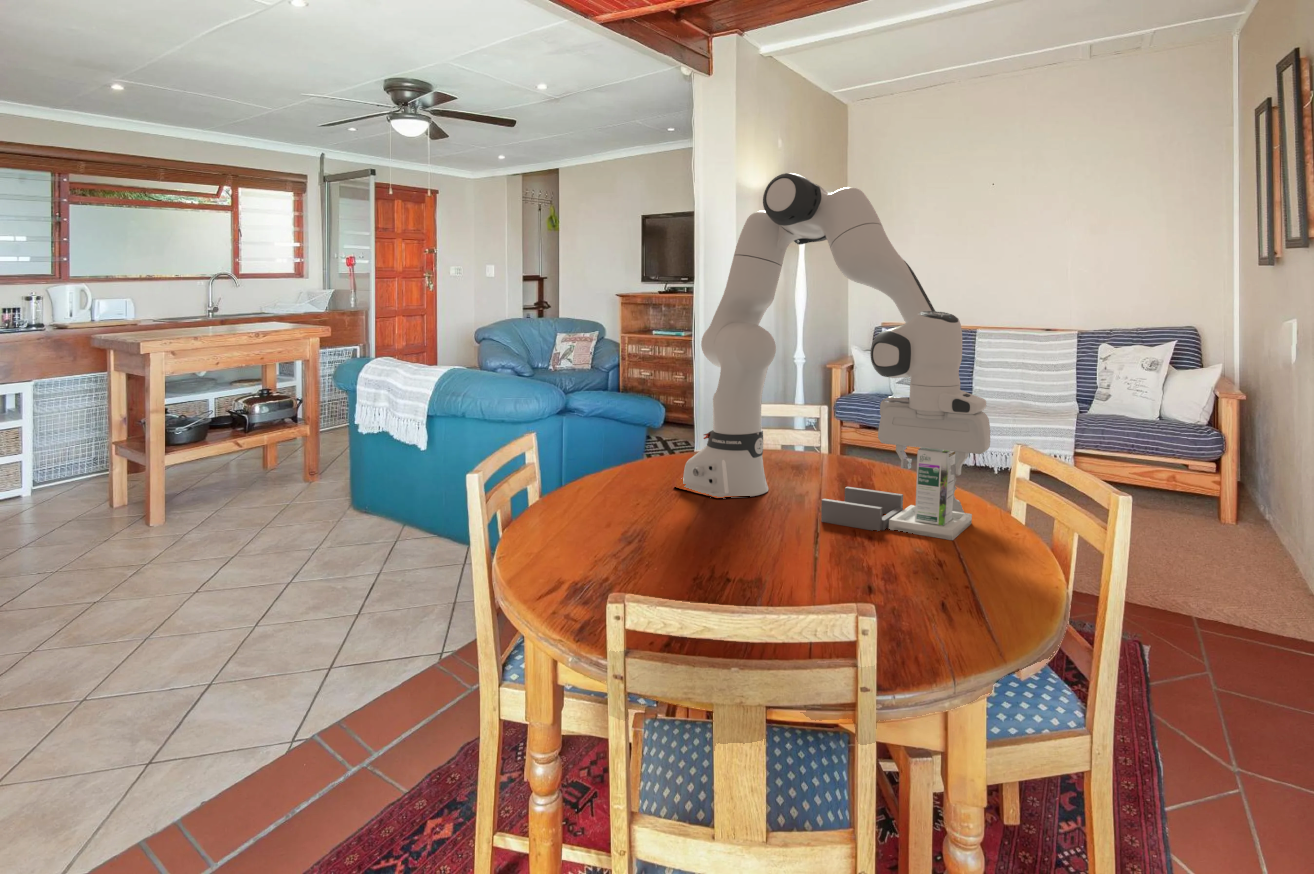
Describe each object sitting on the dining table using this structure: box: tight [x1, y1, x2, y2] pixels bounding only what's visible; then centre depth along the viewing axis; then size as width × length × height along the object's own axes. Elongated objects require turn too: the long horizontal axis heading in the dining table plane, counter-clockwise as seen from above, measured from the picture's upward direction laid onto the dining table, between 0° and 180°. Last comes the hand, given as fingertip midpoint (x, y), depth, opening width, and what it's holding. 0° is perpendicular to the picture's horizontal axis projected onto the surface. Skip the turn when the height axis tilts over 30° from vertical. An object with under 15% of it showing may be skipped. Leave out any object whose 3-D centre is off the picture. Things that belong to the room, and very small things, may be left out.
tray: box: [888, 504, 973, 541], centre depth 148 cm, size 12×12×2 cm
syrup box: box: [915, 447, 955, 526], centre depth 148 cm, size 6×6×14 cm
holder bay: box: [820, 486, 904, 532], centre depth 153 cm, size 12×12×4 cm
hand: (930, 471), depth 145 cm, fingers open, 8 cm apart
